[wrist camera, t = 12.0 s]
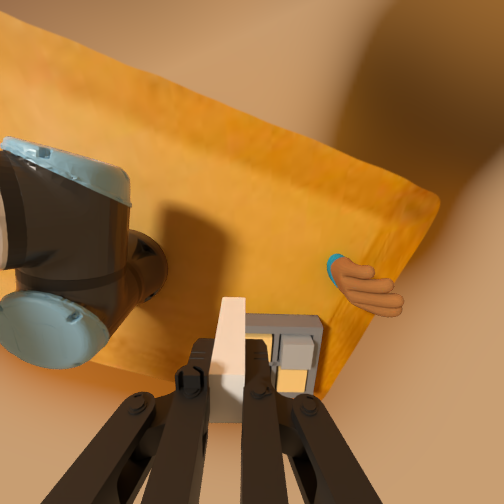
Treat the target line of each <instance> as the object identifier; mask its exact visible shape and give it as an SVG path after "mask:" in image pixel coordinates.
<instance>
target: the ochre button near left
mask: <svg viewBox="0 0 504 504" xmlns="http://www.w3.org/2000/svg"><path fill="white" fill-rule="evenodd" d="M245 339H263V341H264V342H265V344H266V345H267V351H268V360H269V362H270V360H271V348H272V334H256V333H245Z"/></svg>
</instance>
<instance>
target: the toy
mask: <svg viewBox="0 0 504 504" xmlns="http://www.w3.org/2000/svg"><path fill="white" fill-rule="evenodd" d="M327 271H328V275H329V277H330V279H331V280H332V282H333V283H334V284H335V285H336V287H338V288H339V290H340V291H341V292H342V293H343V294H344V295H345V296H346V298H347V299H348V301H349V302H351V303H352V304H353V305H355V306H357V307H359V308H362V309H364V310H366V311H368V312H371V313H373V314H376V315H380V316H384V317H396V316H398V315H400V314H401V312H402V305H403V304H404V299H403V297H402V296H401V295H399V294H395V293H388V292H390V291H392V290H393V288H394V283H393V281H392V280H391V279H388V278H384V279H370V278H372V277H374V275H375V271H374V268H373V267H371V266H368V265H363V266H361V265H357V264H355V263H353V262H352V261H351V260H350V259H349V258H346V257H344V256H343V255H340V254H334V255H332V256H331V257H330V258H329V260H328V262H327Z"/></svg>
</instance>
